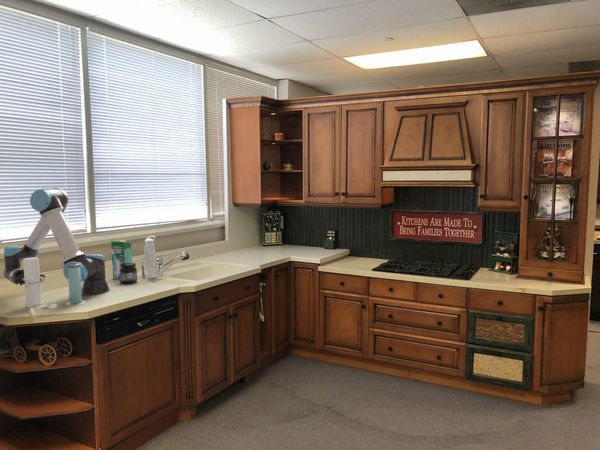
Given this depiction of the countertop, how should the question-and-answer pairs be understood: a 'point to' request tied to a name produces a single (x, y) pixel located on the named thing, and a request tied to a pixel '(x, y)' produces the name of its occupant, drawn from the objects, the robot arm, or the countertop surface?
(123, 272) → the supplement container
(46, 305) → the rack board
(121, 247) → the milk carton
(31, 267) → the tall white block
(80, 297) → the teal tube
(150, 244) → the skyscraper
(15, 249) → the robot arm
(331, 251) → the countertop surface
